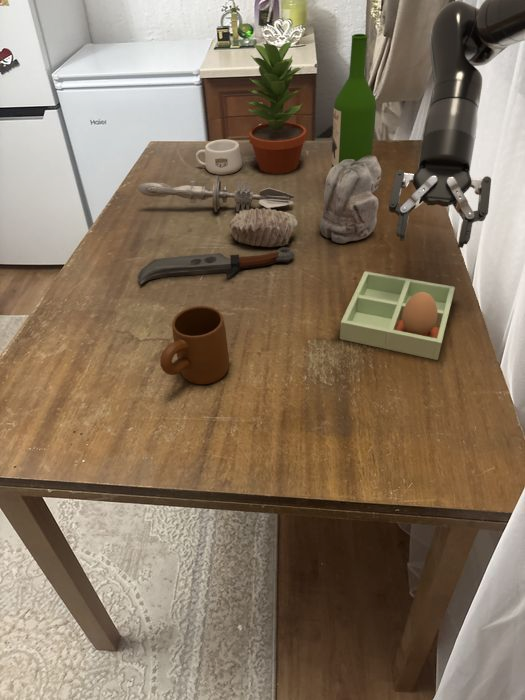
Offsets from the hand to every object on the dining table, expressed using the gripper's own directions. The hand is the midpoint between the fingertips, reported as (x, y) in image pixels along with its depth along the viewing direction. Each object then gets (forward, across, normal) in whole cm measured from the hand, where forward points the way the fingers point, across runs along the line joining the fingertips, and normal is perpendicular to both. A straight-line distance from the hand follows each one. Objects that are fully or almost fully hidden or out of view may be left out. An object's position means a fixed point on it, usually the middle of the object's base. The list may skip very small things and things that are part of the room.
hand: (431, 243), depth 81 cm
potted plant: (-30, -40, +51) cm, 72 cm away
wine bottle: (-22, -20, +42) cm, 51 cm away
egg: (+14, 0, +6) cm, 15 cm away
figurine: (-8, -16, +28) cm, 34 cm away
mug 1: (+26, -31, -6) cm, 41 cm away
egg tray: (+11, -3, +8) cm, 14 cm away
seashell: (-4, -33, +24) cm, 41 cm away
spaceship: (-11, -47, +31) cm, 57 cm away
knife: (+6, -38, +14) cm, 41 cm away
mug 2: (-27, -55, +47) cm, 77 cm away
